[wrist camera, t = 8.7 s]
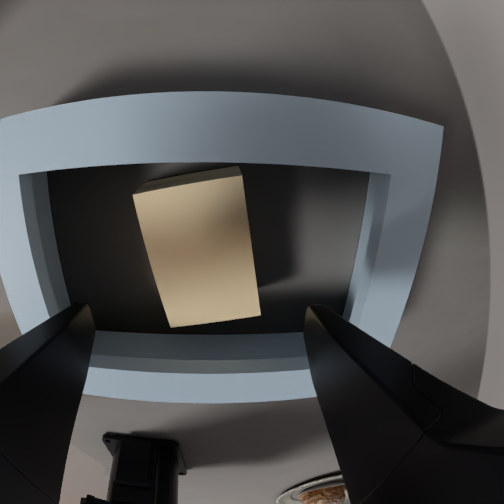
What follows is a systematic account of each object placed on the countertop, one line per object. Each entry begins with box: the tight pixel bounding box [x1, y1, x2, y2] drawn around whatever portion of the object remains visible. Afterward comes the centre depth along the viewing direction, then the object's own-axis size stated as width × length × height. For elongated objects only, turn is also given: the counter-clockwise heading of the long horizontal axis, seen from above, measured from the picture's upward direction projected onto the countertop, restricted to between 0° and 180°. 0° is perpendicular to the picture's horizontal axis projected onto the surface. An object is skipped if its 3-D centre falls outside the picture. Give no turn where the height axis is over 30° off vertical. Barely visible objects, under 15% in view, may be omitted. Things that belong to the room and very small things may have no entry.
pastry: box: [276, 474, 348, 504], centre depth 27 cm, size 12×12×5 cm
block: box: [133, 166, 261, 328], centre depth 13 cm, size 6×4×2 cm, turn 7°
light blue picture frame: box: [0, 91, 444, 403], centre depth 12 cm, size 12×16×4 cm
